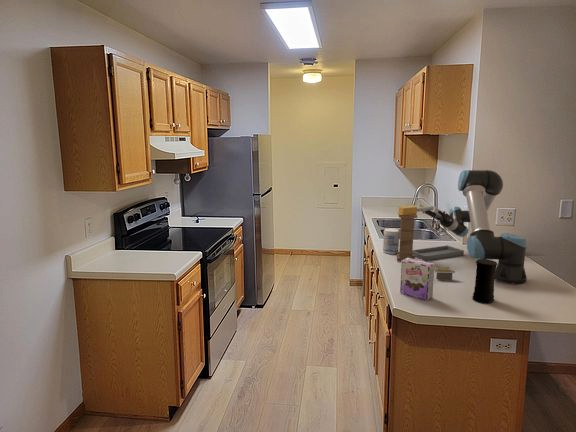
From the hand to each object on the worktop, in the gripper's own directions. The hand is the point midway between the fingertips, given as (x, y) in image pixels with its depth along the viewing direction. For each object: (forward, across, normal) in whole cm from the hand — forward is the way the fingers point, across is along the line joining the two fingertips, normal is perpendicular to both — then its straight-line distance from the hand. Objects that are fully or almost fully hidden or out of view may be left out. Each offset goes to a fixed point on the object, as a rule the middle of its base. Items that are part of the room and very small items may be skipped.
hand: (426, 207), depth 249 cm
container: (+3, -65, -38) cm, 76 cm away
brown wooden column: (-4, 0, -34) cm, 34 cm away
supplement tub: (-6, +17, -33) cm, 37 cm away
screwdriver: (+4, 0, -6) cm, 7 cm away
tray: (-24, 0, -22) cm, 33 cm away
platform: (0, -36, -36) cm, 51 cm away
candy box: (+24, -49, -50) cm, 74 cm away
